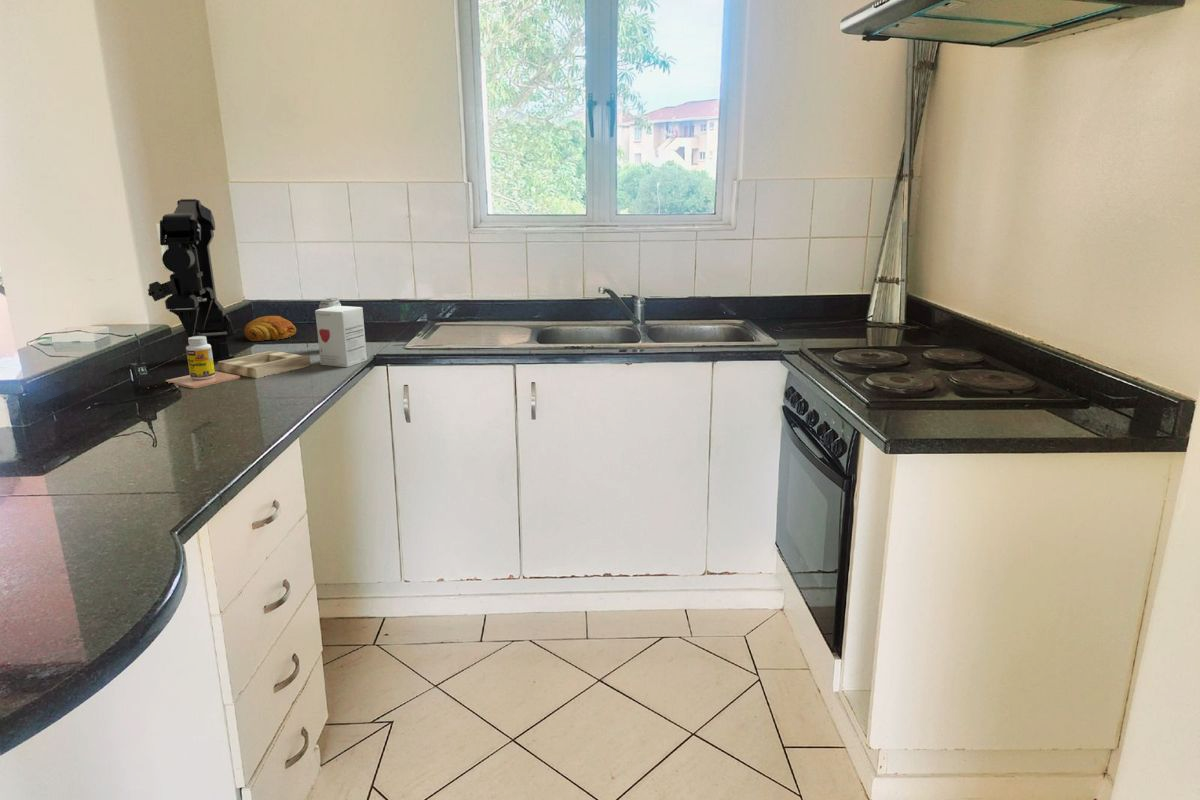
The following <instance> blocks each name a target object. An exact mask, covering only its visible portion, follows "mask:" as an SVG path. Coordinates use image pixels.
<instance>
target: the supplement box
mask: <svg viewBox="0 0 1200 800" xmlns="http://www.w3.org/2000/svg"><path fill="white" fill-rule="evenodd" d="M363 309H364V307H362V306H349V305H341V306H332V307H328V308H323V309H319V308H318V309H315V310H314V315H315V322H316V331H317V341H318V349H319V350H318V351H319V360H320V365H321V366H329V367H331V366H332V367H343V368H350V367H352V366H356V365H358V364H361V363H364V362H366V361H368V357H367V345H366V334H365V323H364V321H365V320H364V311H363Z"/></svg>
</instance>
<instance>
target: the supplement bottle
mask: <svg viewBox="0 0 1200 800" xmlns="http://www.w3.org/2000/svg"><path fill="white" fill-rule="evenodd" d="M187 340H188V345H186V347H185V352H186V357H187V364H188V365H187V366H188V370H189V375H190V377H191V378H192V379H194V380H204V379H210V378H213V377H214V376H215V371H216V370H215V363H214V361H213V356H212V349H211V345H210V344H206V343H207V340H206V337H205V336H196V335H195V336H192V337H188V339H187Z"/></svg>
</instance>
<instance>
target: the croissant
mask: <svg viewBox="0 0 1200 800" xmlns="http://www.w3.org/2000/svg"><path fill="white" fill-rule="evenodd" d="M243 330H244V335H245V337H246V339H248V340H250V341H252V342H261V341H262V342H265V341H264V340H270V341H271V340H272V339H273V340H277V341H280V340H279V339H282V340H285V339H284V338H287V339H289V338H288V337H290V338H292V337H294V336H295V334H296V333H297V328H296V326H295V325H294V324H293V323H292V321H290V320H288V319H286V318H284V317H282V315H281V316H280V315H266V316H265V315H264V316H260V317H258V318H255V319H253V320H251V321H249V322H247V324H246V325H245V327H244V328H243ZM293 335H294V336H293ZM291 336H292V337H291Z"/></svg>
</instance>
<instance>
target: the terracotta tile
mask: <svg viewBox="0 0 1200 800" xmlns="http://www.w3.org/2000/svg"><path fill="white" fill-rule="evenodd" d="M237 379H241V375H237V374H232V373H227V372H222V371H217V370H215V376H214V377H213V378H210V379H204V380H194V379H192V378H191V377H190V374H189V375H183V376H180V377H174V378H170V379H165V383H166V382H168V383H167V384H170V383H174V384H173V385H175V384H176V386H179V387H180V386H181V387H184V388H185V387H186V388H190V389H199V388H203V387H208V386H213V385H215V384H216V385H217V384H222V383H226V382H228V381H235V380H237Z"/></svg>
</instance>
